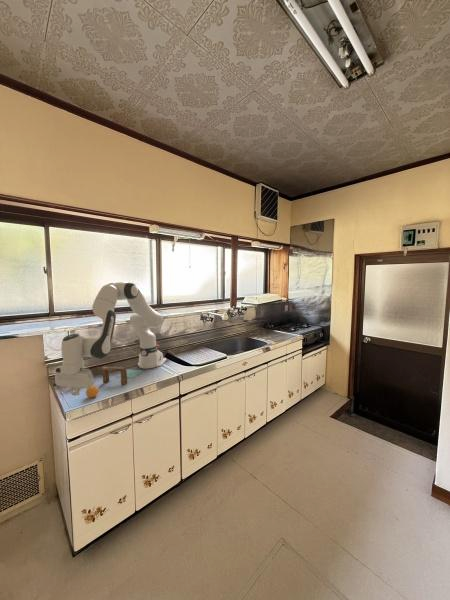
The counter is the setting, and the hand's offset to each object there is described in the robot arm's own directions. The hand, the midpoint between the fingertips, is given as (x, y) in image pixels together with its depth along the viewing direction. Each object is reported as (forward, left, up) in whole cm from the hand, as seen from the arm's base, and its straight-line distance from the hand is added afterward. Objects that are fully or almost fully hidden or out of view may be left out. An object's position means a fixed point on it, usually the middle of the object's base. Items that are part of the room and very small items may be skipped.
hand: (75, 394), depth 121 cm
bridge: (-28, 0, -6) cm, 29 cm away
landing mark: (-43, 0, -6) cm, 44 cm away
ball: (-10, 0, -3) cm, 11 cm away
